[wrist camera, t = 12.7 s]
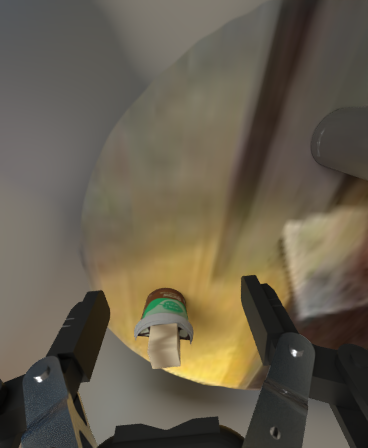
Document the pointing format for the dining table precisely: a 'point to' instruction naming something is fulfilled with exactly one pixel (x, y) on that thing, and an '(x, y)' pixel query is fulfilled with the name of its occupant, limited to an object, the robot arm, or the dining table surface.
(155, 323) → the food container
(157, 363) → the beige cube
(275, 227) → the dining table surface
